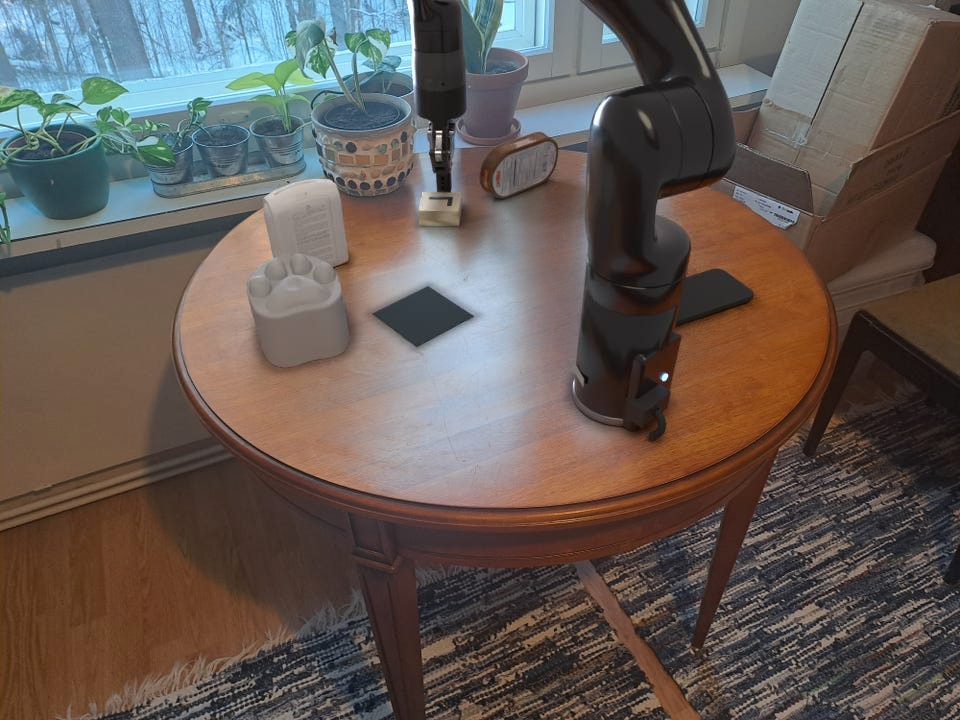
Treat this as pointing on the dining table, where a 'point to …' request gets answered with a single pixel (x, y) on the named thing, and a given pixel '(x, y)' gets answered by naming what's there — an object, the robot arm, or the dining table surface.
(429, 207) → the tile
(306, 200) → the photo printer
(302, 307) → the lumpy-topped squat cylinder
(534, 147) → the tin
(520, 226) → the dining table surface
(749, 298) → the phone
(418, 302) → the mat
